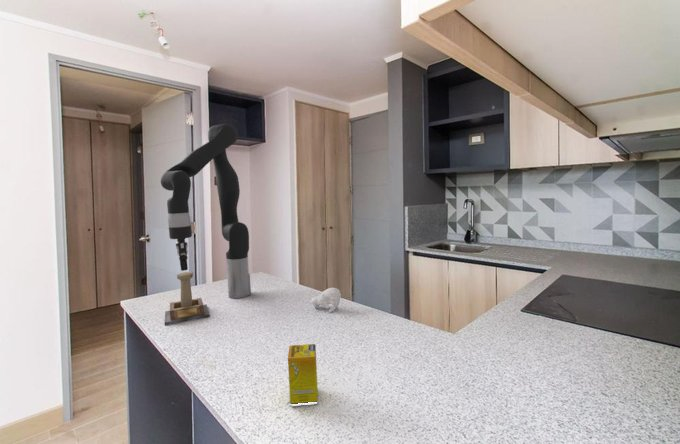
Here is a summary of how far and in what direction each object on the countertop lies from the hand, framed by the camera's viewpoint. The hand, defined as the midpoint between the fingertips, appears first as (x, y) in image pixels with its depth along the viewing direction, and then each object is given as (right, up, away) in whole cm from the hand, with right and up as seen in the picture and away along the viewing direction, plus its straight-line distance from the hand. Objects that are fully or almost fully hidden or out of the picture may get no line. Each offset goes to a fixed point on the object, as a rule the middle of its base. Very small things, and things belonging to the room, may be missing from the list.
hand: (183, 268), depth 124 cm
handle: (0, -18, +2) cm, 18 cm away
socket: (0, -18, +2) cm, 18 cm away
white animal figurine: (+53, -17, +4) cm, 56 cm away
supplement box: (+51, -22, -51) cm, 75 cm away
